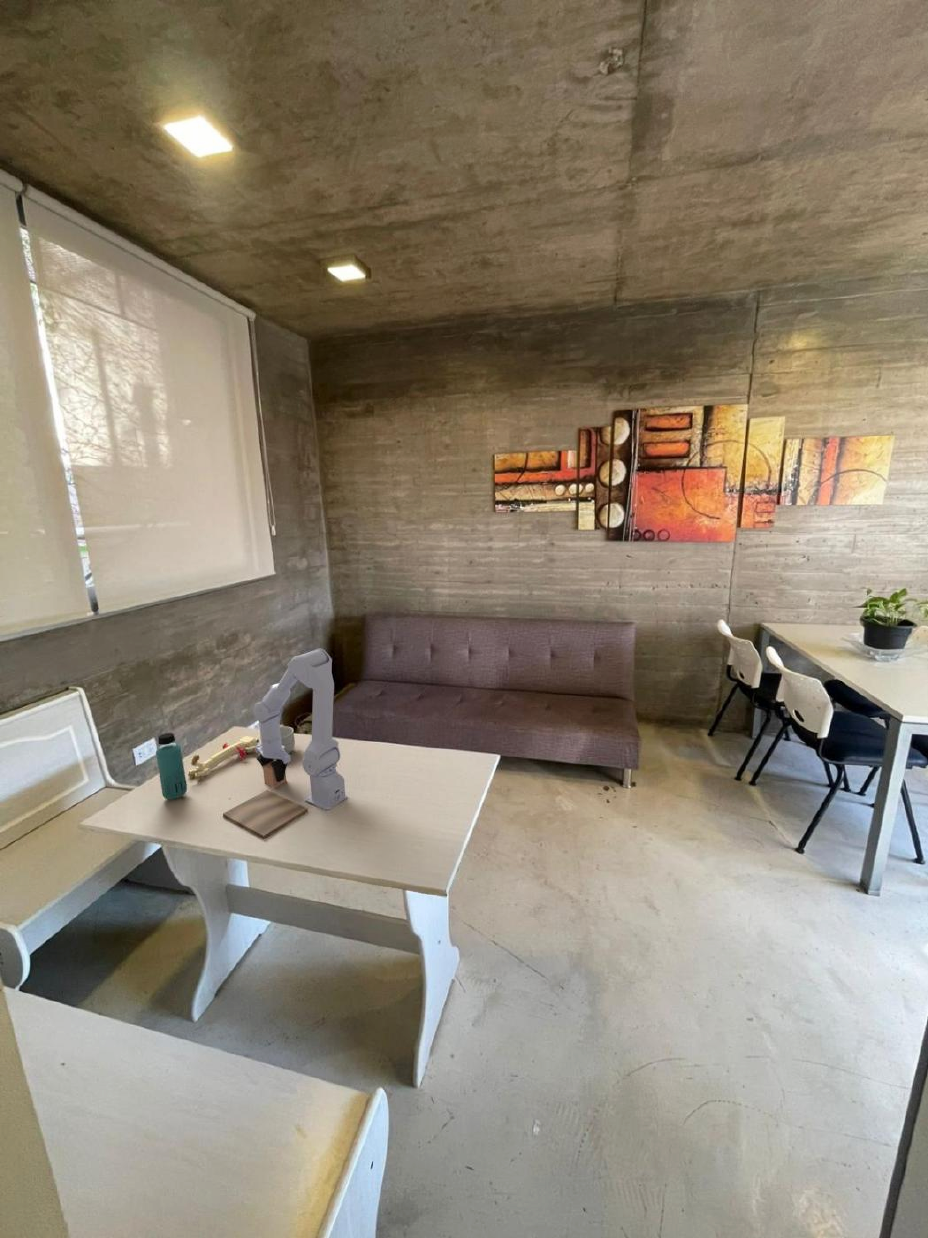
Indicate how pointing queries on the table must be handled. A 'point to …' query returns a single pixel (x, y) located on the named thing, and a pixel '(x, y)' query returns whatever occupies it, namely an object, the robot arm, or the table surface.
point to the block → (271, 776)
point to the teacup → (287, 738)
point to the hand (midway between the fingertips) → (275, 778)
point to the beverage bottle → (171, 767)
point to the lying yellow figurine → (223, 756)
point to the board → (265, 813)
